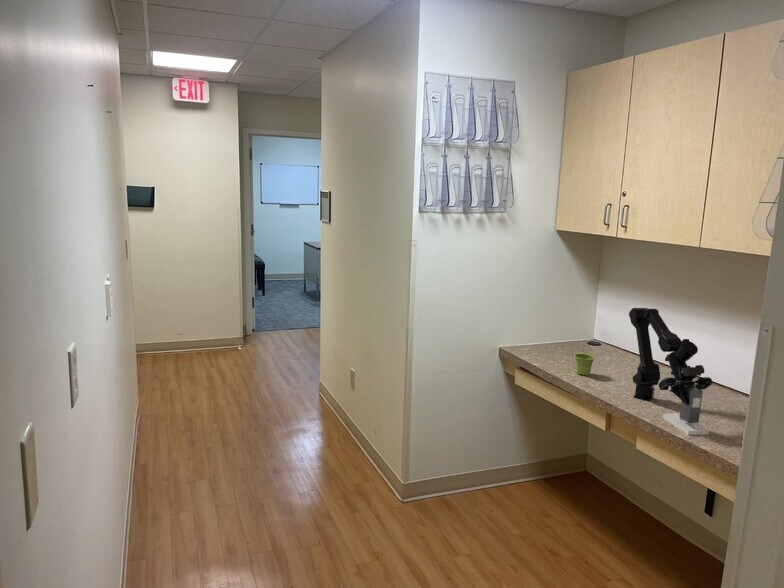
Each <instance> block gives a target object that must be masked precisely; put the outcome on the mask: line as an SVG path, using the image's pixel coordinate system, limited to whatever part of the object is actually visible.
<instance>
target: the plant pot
mask: <svg viewBox="0 0 784 588" xmlns="http://www.w3.org/2000/svg"><path fill="white" fill-rule="evenodd" d="M573 356H574V359H575V373H576V372H577V373H578V374H577V373H576V374H577V375H579V374H580V375H581V374H582V376H584V375H585V376H589V375H590V373H591V370H592V366H593V363H594V360H596V358H595V357H596V356H594V355H591V354H588V353H575V354H574V355H573ZM588 374H589V375H588Z"/></svg>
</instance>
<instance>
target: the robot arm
mask: <svg viewBox="0 0 784 588" xmlns="http://www.w3.org/2000/svg"><path fill="white" fill-rule="evenodd" d="M628 317H629V319H630V323H631V324H632V326H633V327H634V329H635V331H636V338H637V339H636V340H637V346H638V352H639V353H638V354H639V359H640V360H639V361H640V362H639V364H638V365H637V371H636V373H635V374H634V375H633V376H632V383H634V384H635V393H634V395H633V398H636V399H639V400H644V401H647V402H648V401H649V402H650V401H651V400H652V399H654V397H655V388H654V386H658V388H659V390H660V391H668V390H669V392H670V393H673V395H675V396H676V397H677V398H679V400H681V401H683V402H684V403H685V404H686V405H689V402H688V399H687V396H686V393H685V391H684V386H695V387H697V388H699V389H700V390H702V391H704V390H706V389H708V388H709V387H710V386H712V385H713V384H714V381H713V379H712V378H711V377H710V376H702V374H705V368H704V366H703V365H702V364H698V365H696V364H695V366H693V367H692V366H690V365H688V364H687V362H688V361H689V360H690V359H691V358H693V357H694V356H695V355H696V354H697V353H698V352H699V350H698V346H697V345H696V344H695V343H694V342H692V341H690V338H683V339H681V338H680V337H679V336H678V335H677V334H676V333H674V332H672V331H671V330H670V329H669V327H668V325H667V324H666V323H665V321H664V319H663V318H662V317H661V315H660V311H659V309H656V308H648V307H633V308H631V310H629V312H628ZM649 326H651V328H652V329H653V331H654V332H655V334H656V336H657V338H658V341H657V344H658V345H659V348H660V350H661V352H663V353H667V354H666V356H665V358H664V361H665V362H668V363H669V366H670V369H671V371H670V375H672V376H673V377H664V378H663V379H662V380H661V381H660V379H661V371H660V365H659V364H658V363H656V362H655V361H654V359H653V358H654V357H653V351H652V346H651V345H652V343H651V337H650V331H649V330H650V329H649ZM698 376H699V378H698V379H697V380H694V379H696V378H697V377H698ZM701 376H702V377H701Z"/></svg>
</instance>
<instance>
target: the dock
mask: <svg viewBox="0 0 784 588" xmlns="http://www.w3.org/2000/svg"><path fill="white" fill-rule="evenodd" d="M662 418H663V419H664V420H666V421H667V422H669V423H670V425H671V424H672V425H673V426H674V427H675V428H677V429H679V430H680V431H682V432H683V433H685V434H686V435H688V436H692V435H693V436H696V435H709V434H710V433H709V431H710V430H708V428H706V427H704V426H702V425H701V424H700V422H699V423H698V422H695V423H687V422H686V421H684V420H683V419H681V418H680V412H679V413H663V414H662Z"/></svg>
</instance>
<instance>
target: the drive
mask: <svg viewBox="0 0 784 588" xmlns="http://www.w3.org/2000/svg"><path fill="white" fill-rule="evenodd" d="M684 391H685V393H686V396H687V399H688V402H689V405H686V404H685V403H684V402H683V401H682V400H681V402H680V410H679V411H680V412H679V413H680V418H681V419H683V420H684V421H686V422H687V423H695V422H698V423H699V424H700V414H701V407H702V400H703V393H704V392H703V391H704V390H700V389H699V388H697V387H695V386H684Z"/></svg>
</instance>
